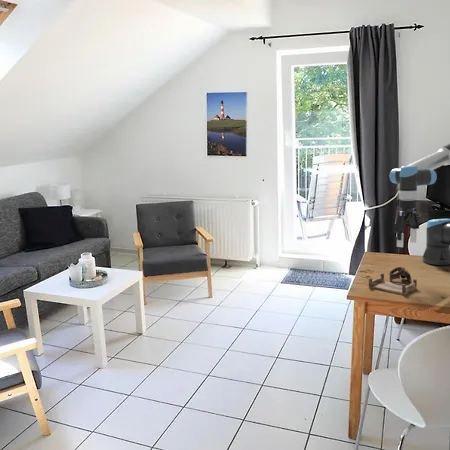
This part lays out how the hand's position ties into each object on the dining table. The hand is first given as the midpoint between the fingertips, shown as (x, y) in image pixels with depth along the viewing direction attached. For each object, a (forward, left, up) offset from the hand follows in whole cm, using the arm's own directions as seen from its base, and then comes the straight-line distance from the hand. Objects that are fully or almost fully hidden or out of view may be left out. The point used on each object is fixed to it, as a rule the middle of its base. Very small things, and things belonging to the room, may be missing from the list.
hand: (406, 244), depth 229 cm
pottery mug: (-1, -1, -19) cm, 19 cm away
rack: (+13, 0, -18) cm, 22 cm away
